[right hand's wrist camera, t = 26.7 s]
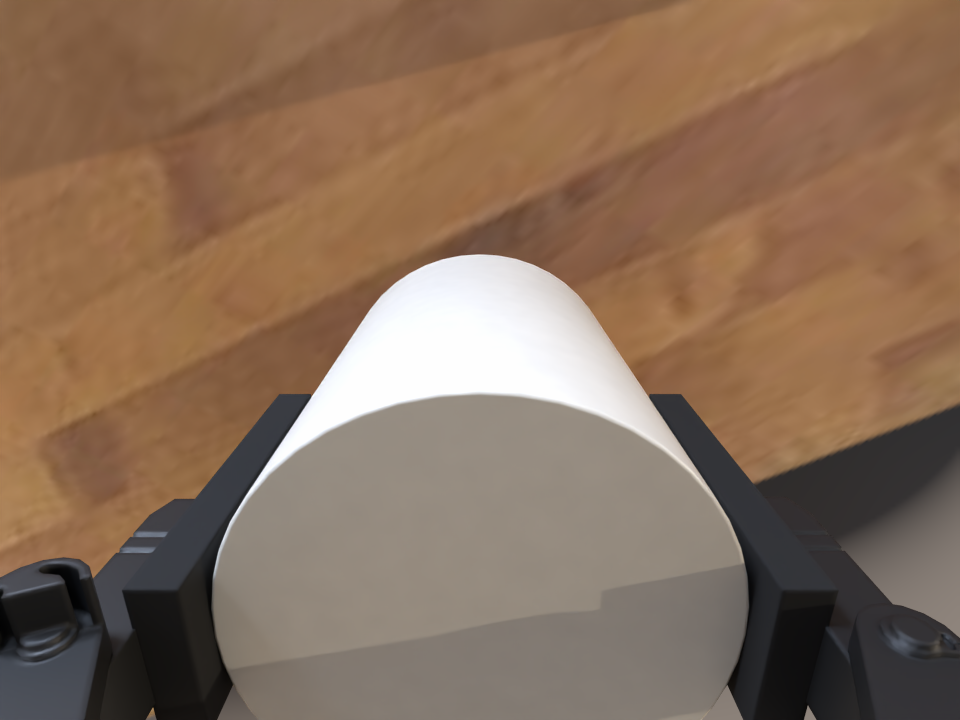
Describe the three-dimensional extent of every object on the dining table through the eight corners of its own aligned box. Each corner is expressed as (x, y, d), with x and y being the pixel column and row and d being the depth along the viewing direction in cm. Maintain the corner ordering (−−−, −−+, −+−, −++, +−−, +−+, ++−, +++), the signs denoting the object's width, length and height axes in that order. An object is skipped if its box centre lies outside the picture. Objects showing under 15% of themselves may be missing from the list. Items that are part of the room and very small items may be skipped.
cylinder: (653, 426, 19) (825, 706, 9) (437, 533, 20) (400, 867, 11) (532, 200, 16) (604, 274, 7) (296, 339, 18) (91, 557, 8)
